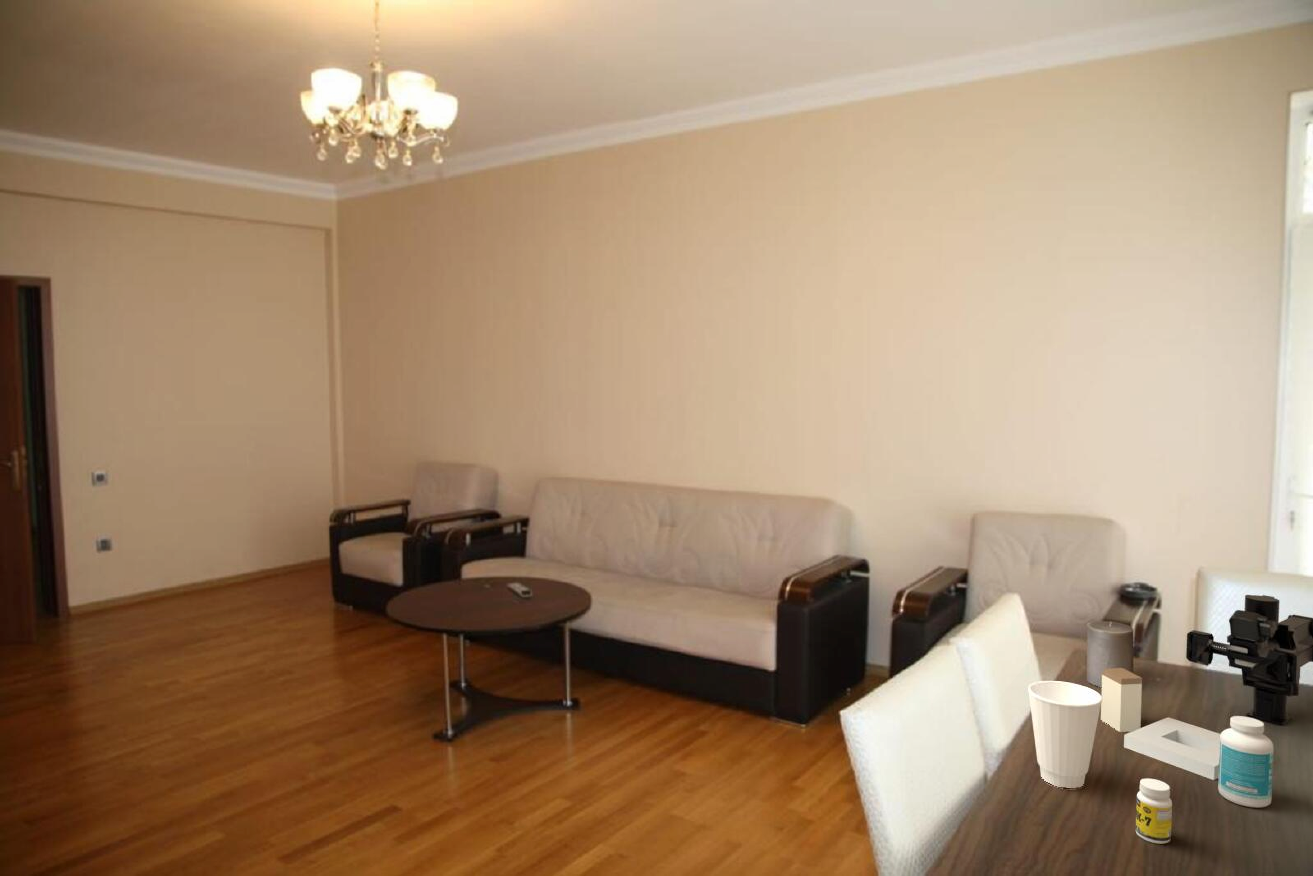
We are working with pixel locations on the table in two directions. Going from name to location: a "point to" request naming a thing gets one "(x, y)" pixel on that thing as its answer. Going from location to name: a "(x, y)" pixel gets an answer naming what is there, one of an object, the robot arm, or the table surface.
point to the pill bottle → (1246, 763)
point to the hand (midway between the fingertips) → (1224, 665)
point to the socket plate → (1178, 746)
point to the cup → (1064, 730)
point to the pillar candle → (1108, 648)
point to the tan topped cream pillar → (1121, 699)
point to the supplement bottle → (1154, 811)
